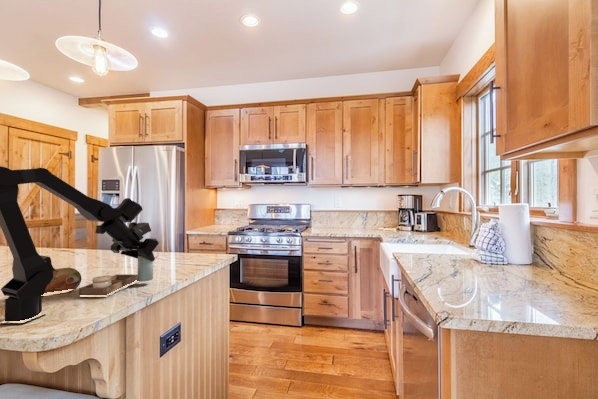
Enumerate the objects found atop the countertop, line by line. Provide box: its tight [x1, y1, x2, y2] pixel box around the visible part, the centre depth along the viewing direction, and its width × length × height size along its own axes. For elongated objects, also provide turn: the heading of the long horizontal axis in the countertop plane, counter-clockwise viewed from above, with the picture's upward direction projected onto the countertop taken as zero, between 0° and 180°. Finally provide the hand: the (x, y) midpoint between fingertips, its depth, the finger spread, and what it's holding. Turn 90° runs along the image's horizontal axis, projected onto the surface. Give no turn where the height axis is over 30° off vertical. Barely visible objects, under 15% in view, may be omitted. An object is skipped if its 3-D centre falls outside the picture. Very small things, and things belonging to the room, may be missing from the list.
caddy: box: [78, 273, 138, 296], centre depth 97 cm, size 18×9×3 cm, turn 179°
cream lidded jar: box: [92, 275, 113, 288], centre depth 93 cm, size 5×5×5 cm
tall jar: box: [137, 240, 154, 282], centre depth 103 cm, size 5×5×14 cm
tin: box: [44, 267, 82, 293], centre depth 92 cm, size 15×3×8 cm, turn 129°
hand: (148, 259), depth 104 cm, fingers closed on tall jar, 5 cm apart
